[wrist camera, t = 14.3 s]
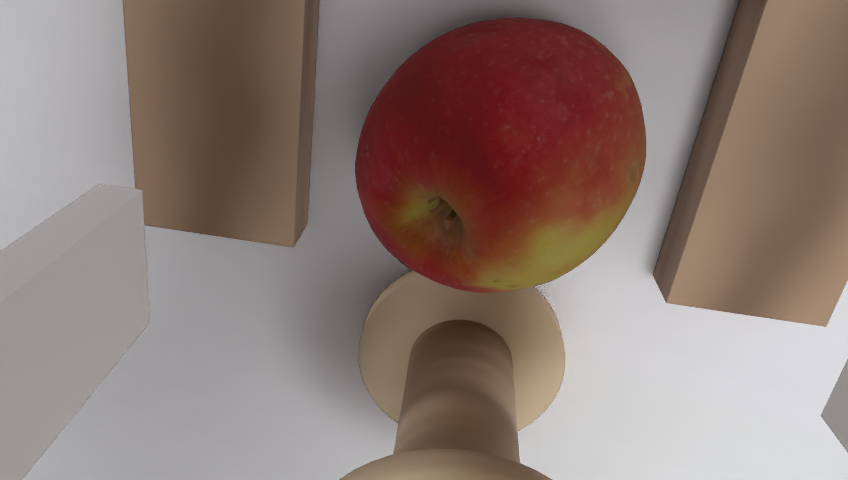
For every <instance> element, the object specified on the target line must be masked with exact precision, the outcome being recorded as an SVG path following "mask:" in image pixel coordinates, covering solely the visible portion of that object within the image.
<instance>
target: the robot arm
mask: <svg viewBox="0 0 848 480" xmlns="http://www.w3.org/2000/svg"><path fill="white" fill-rule="evenodd" d="M148 324H149V305H148V287H147V268H146V250H145V231H144V213H143V194H142V190H139V189H132V188H125V187H118V186H110V185H103V184H98V185H97V186H95V187H94V188H92V189H91V190H89V191H88V192H86V193H85V194H84V195H82V196H81V197H79V198H78V199H76V200H75V201H73V202H72V203H70V204H69V205H67V206H66V207H65V208H63V209H62V210H60V211H59V212H57V213H56V214H54V215H53V216H51V217H50V218H48V219H47V220H45V221H44V222H43V223H41V224H40V225H38V226H37V227H35V228H34V229H32V230H31V231H29V232H28V233H26V234H25V235H24V236H22V237H21V238H19V239H18V240H16V241H15V242H13V243H12V244H10V245H9V246H7V247H6V248H5V249H3V250H2V251H0V480H22V479H23V478H24V477H25V475H26V474H27V473H28V472H29V471H30V469H31V468H32V467H33V466H34V464H35V463H36V462H37V461H38V459H39V458H40V457H41V456H42V455H43V453H44V452H45V451H46V450H47V448H48V447H49V446H50V445H51V443H52V442H53V441H54V440H55V438H56V437H57V436H58V435H59V434H60V432H61V431H62V430H63V429H64V427H65V426H66V425H67V424H68V422H69V421H70V420H71V419H72V418H73V416H74V415H75V414H76V413H77V411H78V410H79V409H80V408H81V406H82V405H83V404H84V403H85V401H86V400H87V399H88V398H89V397H90V395H91V394H92V393H93V392H94V390H95V389H96V388H97V387H98V385H99V384H100V383H101V382H102V381H103V379H104V378H105V377H106V376H107V374H108V373H109V372H110V371H111V369H112V368H113V367H114V366H115V364H116V363H117V362H118V361H119V360H120V358H121V357H122V356H123V355H124V353H125V352H126V351H127V350H128V348H129V347H130V346H131V345H132V344H133V342H134V341H135V340H136V339H137V337H138V336H139V335H140V334H141V332H142V331H143V330H144V329H145V328H146V326H147V325H148ZM821 417H822V418H823V420H824V421H825V422H826V424H827V425H828V426H829V428H830V429H831V430H832V432H833V433H834V435H835V436H836V437H837V439H838V440H839V441H840V443H841V444H842V445H843V447H844V448H845V449H846V451H847V452H848V360H847V362H846V364H845V366H844V368H843V370H842V372H841V374H840V376H839V378H838V380H837V383H836V385H835V387H834V389H833V391H832V393H831V395H830V397H829V399H828V401H827V404H826V406H825V408H824V410H823V412H822V414H821Z"/></svg>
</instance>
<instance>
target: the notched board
mask: <svg viewBox="0 0 848 480" xmlns="http://www.w3.org/2000/svg"><path fill="white" fill-rule="evenodd" d="M123 12H124V27H125V41H126V56H127V71H128V86H129V101H130V116H131V130H132V145H133V160H134V175H135V189H139V190H142V194H143V213H144V225H146V226H153V227H160V228H166V229H173V230H180V231H187V232H193V233H200V234H207V235H213V236H220V237H227V238H234V239H240V240H247V241H254V242H260V243H267V244H274V245H281V246H287V247H294V246H295V244H296V243H297V241H298V239H299V237H300V236H301V234H302V232H303V230H304V229H305V227H306V225H307V218H308V200H309V182H310V164H311V146H312V127H313V109H314V91H315V73H316V55H317V36H318V18H319V0H123ZM653 276H654V279H655V281H656V283H657V285H658V287H659V289H660V291H661V293H662V295H663V297H664V299H665V301H666V303H670V304H677V305H684V306H690V307H697V308H704V309H711V310H717V311H724V312H731V313H737V314H744V315H751V316H758V317H764V318H771V319H778V320H784V321H791V322H798V323H805V324H811V325H818V326H825V327H826V326H827V323H828V321H829V319H830V317H831V315H832V313H833V310H834V308H835V306H836V304H837V302H838V300H839V298H840V295H841V293H842V291H843V289H844V287H845V285H846V282H847V280H848V0H740V2H739V5H738V8H737V11H736V14H735V17H734V21H733V24H732V27H731V30H730V33H729V36H728V40H727V43H726V46H725V49H724V52H723V55H722V58H721V62H720V65H719V68H718V71H717V74H716V77H715V81H714V84H713V87H712V90H711V93H710V96H709V100H708V103H707V106H706V109H705V112H704V115H703V119H702V122H701V125H700V128H699V131H698V134H697V137H696V141H695V144H694V147H693V150H692V153H691V156H690V160H689V163H688V166H687V169H686V172H685V175H684V179H683V182H682V185H681V188H680V191H679V194H678V198H677V201H676V204H675V207H674V210H673V213H672V216H671V220H670V223H669V226H668V229H667V232H666V235H665V239H664V242H663V245H662V248H661V251H660V254H659V258H658V261H657V264H656V267H655V270H654V273H653Z"/></svg>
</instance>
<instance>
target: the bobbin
mask: <svg viewBox="0 0 848 480" xmlns="http://www.w3.org/2000/svg"><path fill="white" fill-rule="evenodd" d="M359 366H360V372H361V375H362V379H363V382H364V384H365V386H366V388H367V390H368V392H369V394H370V395H371V397H372V398H373V400H374V401H375V402H376V404H377V405H378V406H379V407H380V408H381V410H383V411H384V412H385V413H386V414H387V415H388V416H389V417H390V418H391V419H393V420H394V421H396V422H397V423H398V429H397V435H396V441H395V448H394V454H393V455H390V456H387V457H384V458H381V459H378V460H375V461H372V462H370V463H368V464H366V465H363V466H361V467H359V468H357V469H355V470H353V471H352V472H350V473H349V474H347V475H346V476H344V477H343V478H341V479H340V480H552V479H550V478H548V477H547V476H545V475H543V474H541V473H540V472H538V471H536V470H534V469H532V468H529V467H527V466H525V465H523V464H520V460H519V447H518V433H517V431H519V430H521V429H522V428H524V427H526V426H527V425H529V424H530V423H532V422H533V421H534V420H535V419H537V418H538V417H539V416H540V415H541V414H542V413H543V412H544V411H545V410H546V409H547V408H548V406H549V405H550V404H551V402H552V401H553V400H554V398H555V396H556V394H557V392H558V391H559V388H560V385H561V383H562V380H563V375H564V370H565V352H564V345H563V340H562V335H561V330H560V327H559V323H558V320H557V318H556V316H555V314H554V312H553V310H552V308H551V306H550V305H549V303H548V302H547V301H546V299H545V298H544V297H543V296H542V295H541V294H540V292H539V291H538V290H537V289H536V288H534V287H529V288H524V289H519V290H513V291H506V292H492V293H476V292H468V291H462V290H458V289H454V288H451V287H448V286H445V285H442V284H439V283H437V282H434V281H432V280H430V279H428V278H426V277H424V276H422V275H421V274H419V273H417V272H415V271H413V270H412V271H410V272H408V273H406V274H404V275H402V276H401V277H399V278H398V279H396V280H395V281H394V282H392V283H391V284H390V285H389V286H388V287H387V288H386V289H385V290H384V291H383V292H382V293H381V294H380V295H379V297H378V298H377V299H376V301H375V302H374V303H373V305H372V307H371V309H370V311H369V313H368V316H367V319H366V321H365V324H364V328H363V331H362V335H361V339H360V344H359Z"/></svg>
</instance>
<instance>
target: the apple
mask: <svg viewBox="0 0 848 480" xmlns="http://www.w3.org/2000/svg"><path fill="white" fill-rule="evenodd" d="M645 158H646V133H645V125H644V118H643V112H642V107H641V103H640V99H639V96H638V93H637V91H636V88H635V86H634V83H633V81H632V79H631V77H630V75H629V73H628V71H627V70H626V69H625V67H624V66H623V65H622V63H621V62H620V61H619V60H618V59H617V58H616V57H615V56H614V55H613V54H612V53H611V52H610V51H609V50H608V49H607V48H606V47H605V46H604V45H602V44H601V43H600V42H598V41H597V40H595V39H594V38H593V37H591V36H589V35H588V34H586V33H584V32H582V31H581V30H579V29H576V28H573V27H570V26H568V25H565V24H562V23H557V22H553V21H547V20H538V19H528V18H503V19H495V20H487V21H481V22H476V23H472V24H468V25H465V26H463V27H460V28H457V29H455V30H452V31H450V32H448V33H446V34H444V35H442V36H440V37H438V38H436V39H434V40H432V41H431V42H429V43H428V44H426V45H425V46H423V47H422V48H421V49H419V50H418V51H417V52H416V53H414V54H413V55H412V56H411V57H409V58H408V59H407V60H406V61H405V62H404V63H403V64H402V65H401V66H400V67H399V68H398V69H397V71H396V72H395V73H394V74H393V76H392V77H391V78H390V79H389V81H388V82H387V83H386V85H385V86H384V87H383V89H382V90H381V92H380V93H379V95H378V96H377V98H376V100H375V101H374V103H373V105H372V107H371V109H370V111H369V113H368V115H367V118H366V120H365V123H364V125H363V128H362V131H361V135H360V139H359V144H358V149H357V155H356V162H355V174H356V183H357V189H358V193H359V197H360V200H361V204H362V207H363V210H364V213H365V216H366V218H367V220H368V222H369V224H370V226H371V228H372V230H373V232H374V233H375V235H376V236H377V238H378V239H379V241H380V242H381V243H382V244H383V245H384V247H385V248H386V249H387V250H388V251H389V252H390V253H391V254H392V255H393V256H394V257H395V258H397V259H398V260H399V261H400V262H401V263H402V264H404V265H405V266H406V267H408V268H409V269H411V270H413V271H415V272H417V273H419V274H421V275H422V276H424V277H426V278H428V279H430V280H432V281H434V282H437V283H439V284H442V285H445V286H448V287H451V288H454V289H458V290H462V291H468V292H476V293H492V292H506V291H513V290H519V289H524V288H529V287H533V286H536V285H540V284H543V283H547V282H550V281H552V280H554V279H557V278H558V277H560V276H562V275H564V274H566V273H568V272H569V271H571V270H572V269H574V268H575V267H577V266H578V265H580V264H581V263H582V262H584V261H585V260H586V259H588V258H589V257H590V256H591V255H593V254H594V253H595V252H596V251H597V250H598V249H599V248H600V247H601V246H602V245H603V244H604V243H605V242H606V240H607V239H608V238H609V237H610V235H611V234H612V233H613V232H614V231H615V229H616V228H617V226H618V225H619V223H620V222H621V220H622V219H623V217H624V216H625V214H626V212H627V210H628V208H629V206H630V204H631V202H632V200H633V199H634V197H635V195H636V192H637V189H638V187H639V184H640V181H641V178H642V174H643V170H644V165H645Z"/></svg>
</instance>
